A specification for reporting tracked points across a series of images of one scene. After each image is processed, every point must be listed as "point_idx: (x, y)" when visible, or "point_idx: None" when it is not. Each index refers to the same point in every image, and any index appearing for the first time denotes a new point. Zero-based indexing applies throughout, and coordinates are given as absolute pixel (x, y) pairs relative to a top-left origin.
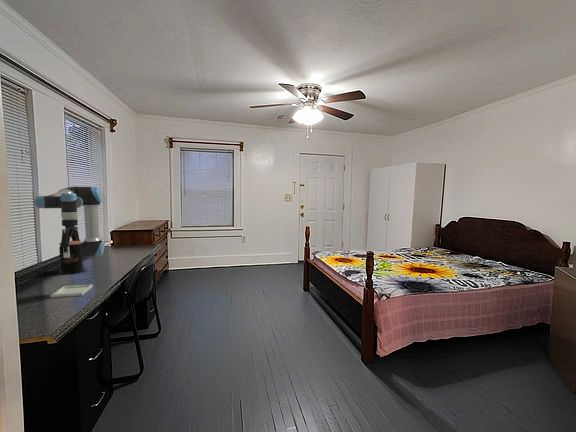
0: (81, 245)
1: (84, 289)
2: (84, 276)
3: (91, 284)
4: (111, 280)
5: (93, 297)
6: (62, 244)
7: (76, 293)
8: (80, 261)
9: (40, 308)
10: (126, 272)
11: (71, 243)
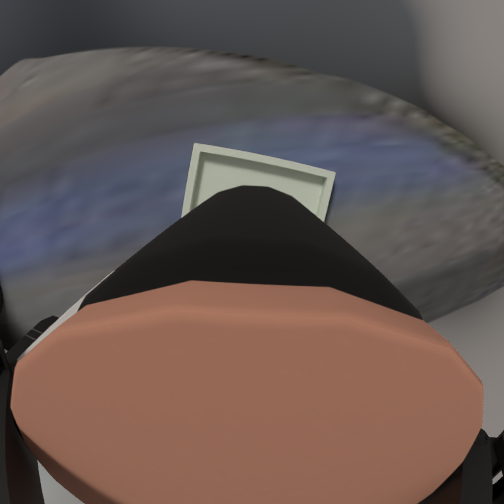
0: (213, 249)
1: (241, 174)
2: (22, 226)
3: (195, 148)
4: (115, 82)
5: (377, 125)
6: (493, 477)
7: (329, 197)
8: (295, 202)
9: (407, 294)
10: (27, 64)
11: (462, 453)
